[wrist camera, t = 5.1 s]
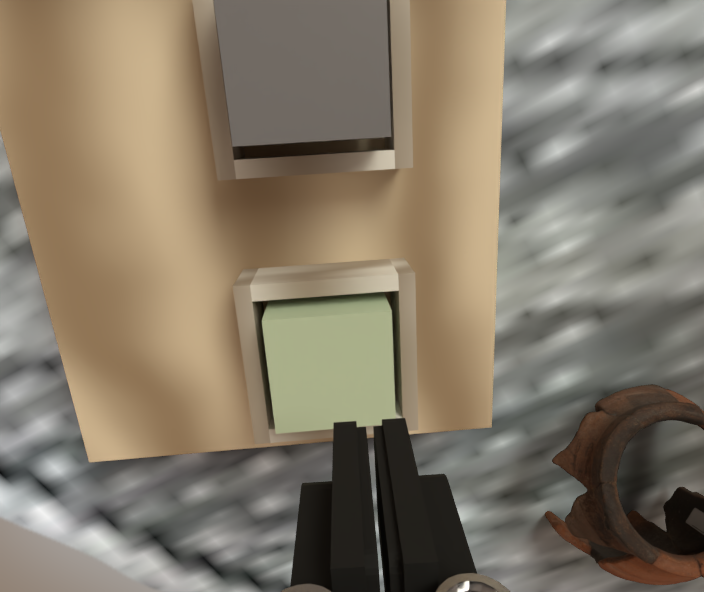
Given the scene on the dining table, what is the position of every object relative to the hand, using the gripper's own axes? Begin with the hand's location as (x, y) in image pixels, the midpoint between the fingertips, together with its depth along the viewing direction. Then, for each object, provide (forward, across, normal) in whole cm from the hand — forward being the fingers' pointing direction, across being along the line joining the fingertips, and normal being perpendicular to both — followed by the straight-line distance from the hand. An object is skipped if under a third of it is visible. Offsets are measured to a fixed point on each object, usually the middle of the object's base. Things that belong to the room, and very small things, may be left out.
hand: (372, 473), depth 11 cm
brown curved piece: (+13, -14, +11) cm, 22 cm away
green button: (+9, +1, 0) cm, 9 cm away
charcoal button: (+8, +1, -10) cm, 12 cm away
